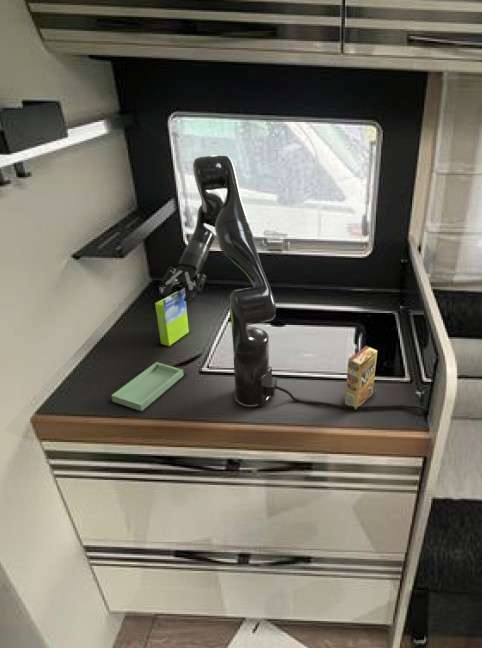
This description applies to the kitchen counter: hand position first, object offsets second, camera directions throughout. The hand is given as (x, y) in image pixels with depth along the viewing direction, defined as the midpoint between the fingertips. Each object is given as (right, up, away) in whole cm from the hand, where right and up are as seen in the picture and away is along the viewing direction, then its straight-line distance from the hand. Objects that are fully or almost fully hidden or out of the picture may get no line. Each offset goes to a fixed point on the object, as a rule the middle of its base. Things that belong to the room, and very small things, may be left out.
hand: (175, 299), depth 132 cm
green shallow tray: (+1, -24, -20) cm, 32 cm away
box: (-2, -14, +4) cm, 14 cm away
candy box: (+60, -28, -18) cm, 69 cm away
